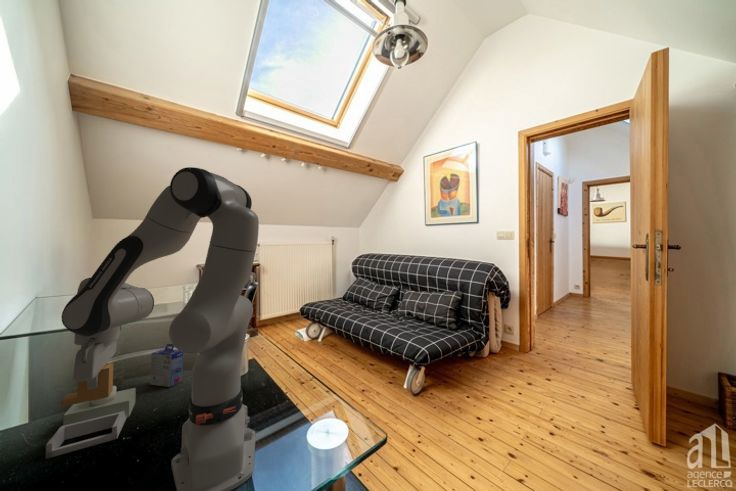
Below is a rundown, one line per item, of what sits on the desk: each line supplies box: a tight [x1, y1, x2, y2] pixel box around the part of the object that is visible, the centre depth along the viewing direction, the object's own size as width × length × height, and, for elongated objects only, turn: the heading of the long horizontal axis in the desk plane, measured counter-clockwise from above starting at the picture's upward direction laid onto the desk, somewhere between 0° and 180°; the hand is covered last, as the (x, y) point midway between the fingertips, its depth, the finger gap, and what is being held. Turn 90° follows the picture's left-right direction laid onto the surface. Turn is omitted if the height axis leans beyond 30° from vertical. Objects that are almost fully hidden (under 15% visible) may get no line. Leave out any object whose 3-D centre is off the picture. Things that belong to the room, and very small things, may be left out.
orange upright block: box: [60, 362, 114, 408], centre depth 72 cm, size 4×9×8 cm, turn 122°
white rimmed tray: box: [45, 385, 137, 460], centre depth 77 cm, size 20×14×8 cm
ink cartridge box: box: [149, 343, 184, 388], centre depth 103 cm, size 10×6×14 cm, turn 78°
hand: (96, 383), depth 73 cm, fingers closed on orange upright block, 4 cm apart
